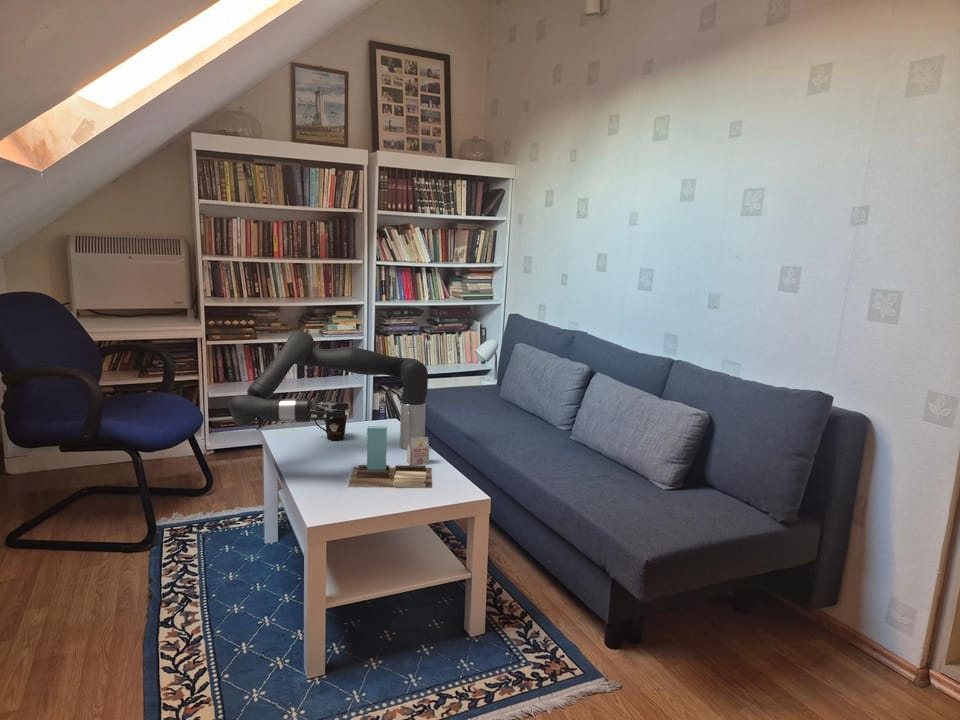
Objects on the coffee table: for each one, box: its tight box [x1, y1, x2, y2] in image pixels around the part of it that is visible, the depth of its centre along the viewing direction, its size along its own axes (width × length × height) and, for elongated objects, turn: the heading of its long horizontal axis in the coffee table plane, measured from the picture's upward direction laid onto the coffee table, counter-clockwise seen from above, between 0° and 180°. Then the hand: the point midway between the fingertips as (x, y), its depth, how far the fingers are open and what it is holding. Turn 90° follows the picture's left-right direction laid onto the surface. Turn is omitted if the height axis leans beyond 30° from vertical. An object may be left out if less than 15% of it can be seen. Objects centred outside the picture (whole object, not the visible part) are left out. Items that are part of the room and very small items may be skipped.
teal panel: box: [366, 425, 388, 471], centre depth 205 cm, size 2×6×16 cm, turn 95°
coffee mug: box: [314, 412, 348, 442], centre depth 245 cm, size 12×9×10 cm
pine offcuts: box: [392, 471, 426, 488], centre depth 199 cm, size 6×10×3 cm, turn 95°
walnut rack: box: [347, 464, 433, 489], centre depth 205 cm, size 18×26×3 cm
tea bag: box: [406, 436, 430, 466], centre depth 219 cm, size 4×7×10 cm, turn 115°
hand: (347, 410), depth 203 cm, fingers open, 8 cm apart
